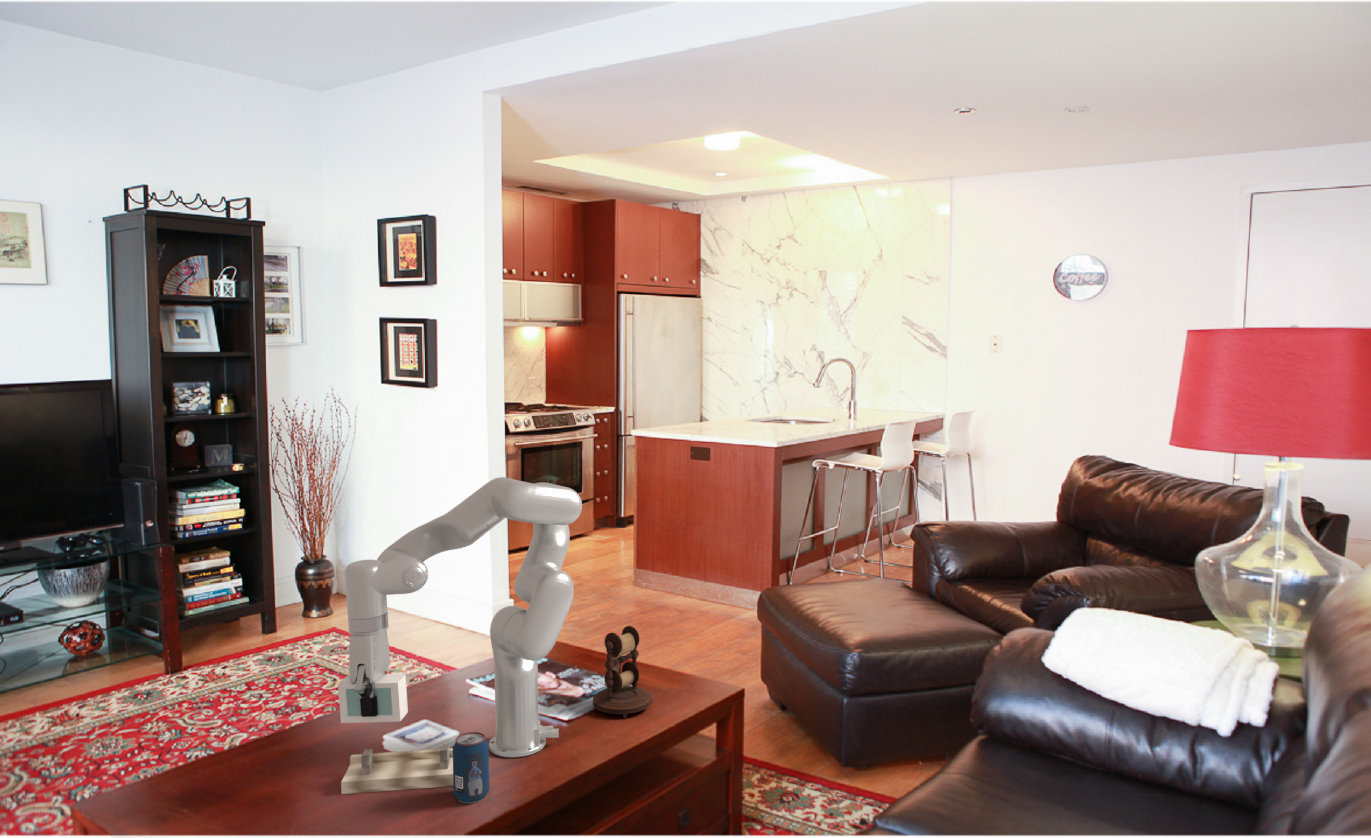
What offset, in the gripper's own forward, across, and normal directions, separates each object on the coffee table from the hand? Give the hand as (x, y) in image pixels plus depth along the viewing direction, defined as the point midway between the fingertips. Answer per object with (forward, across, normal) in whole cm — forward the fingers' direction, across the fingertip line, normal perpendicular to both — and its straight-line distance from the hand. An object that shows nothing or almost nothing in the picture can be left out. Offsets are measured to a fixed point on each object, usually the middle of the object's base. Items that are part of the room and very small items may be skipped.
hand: (374, 709), depth 177 cm
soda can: (+17, +4, +20) cm, 26 cm away
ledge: (+17, -4, +4) cm, 18 cm away
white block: (+2, 0, 0) cm, 2 cm away
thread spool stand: (+19, -41, +46) cm, 64 cm away
